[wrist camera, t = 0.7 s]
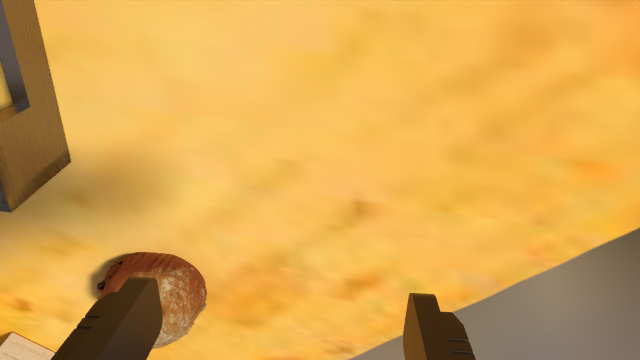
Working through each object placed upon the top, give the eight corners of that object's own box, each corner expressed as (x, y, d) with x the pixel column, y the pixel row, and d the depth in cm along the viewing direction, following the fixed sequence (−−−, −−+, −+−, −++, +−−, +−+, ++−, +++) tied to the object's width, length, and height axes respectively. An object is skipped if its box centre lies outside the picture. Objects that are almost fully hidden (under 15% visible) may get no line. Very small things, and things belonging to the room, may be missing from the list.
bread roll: (193, 298, 49) (204, 360, 44) (94, 307, 44) (92, 377, 39) (208, 236, 44) (223, 296, 39) (99, 238, 39) (96, 307, 34)
